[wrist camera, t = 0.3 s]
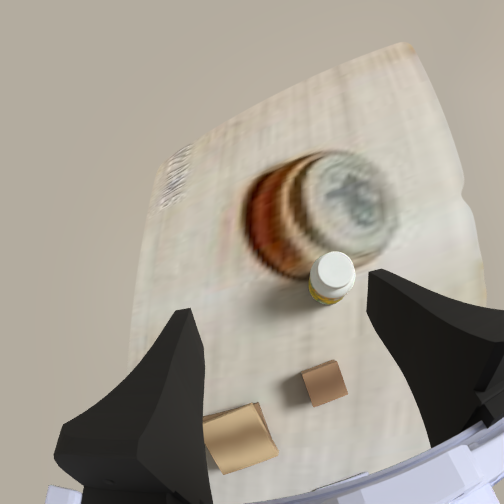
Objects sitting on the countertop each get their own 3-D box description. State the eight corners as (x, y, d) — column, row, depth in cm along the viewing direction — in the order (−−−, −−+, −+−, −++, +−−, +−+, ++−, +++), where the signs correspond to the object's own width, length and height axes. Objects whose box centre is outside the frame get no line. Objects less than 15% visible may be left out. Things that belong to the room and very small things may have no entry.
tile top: (278, 450, 34) (278, 455, 32) (226, 470, 34) (223, 474, 32) (251, 402, 36) (250, 405, 35) (199, 423, 36) (195, 426, 35)
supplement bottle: (353, 292, 40) (369, 277, 31) (320, 312, 40) (328, 304, 31) (333, 259, 42) (343, 236, 33) (300, 279, 42) (302, 261, 33)
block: (343, 389, 37) (348, 394, 33) (311, 401, 37) (313, 407, 33) (332, 359, 38) (336, 361, 34) (301, 371, 38) (301, 374, 34)
